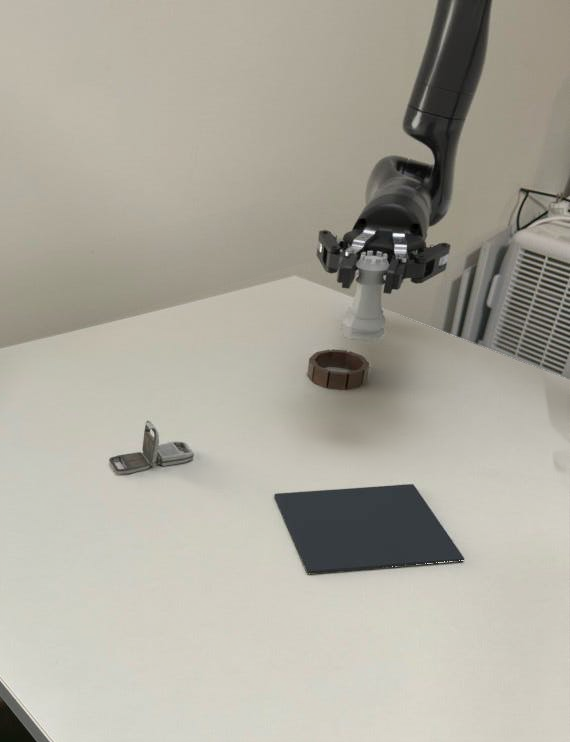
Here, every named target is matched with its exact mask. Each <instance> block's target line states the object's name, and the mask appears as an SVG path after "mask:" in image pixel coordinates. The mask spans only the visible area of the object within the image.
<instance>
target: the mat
mask: <svg viewBox="0 0 570 742" xmlns="http://www.w3.org/2000/svg"><path fill="white" fill-rule="evenodd" d="M273 497H274V500H275V502H276V504H277V507H278V509H279V511H280V514H281V516H282V518H283V520H284V522H285V525H286V528H287V531H288V532H289V535H290V537H291V536H292V537H291V539H292V541H293V544H294V543H295V544H294V546H295V548H296V550H298V551H297V553H298V555H299V557H300V560H301V559H302V560H301V562H302V565H303V567H304V566H305V567H304V569H305V568H306V569H305V571H306V570H307V571H306V574H307V573H310V574H309V575H312V574H311V573H320V574H324V573H323V572H326V573H325V574H328V573H327V572H332V573H339V572H338V571H344V572H354V571H355V570H357V571H366V569H367V570H368V569H369V570H379V569H378V568H381V569H386V568H385V567H392V566H393V567H394V568H396V567H395V566H405V565H406V567H408V566H407V565H416V564H425V563H426V564H427V563H436V562H437V563H438V562H444V561H445V562H447V561H448V562H449V561H459V560H460V561H461V560H464V561H465V557H464V556H463V554H462V552H461V551H460V550H459V548H458V547H457V546H456V544H455V542H454V541H453V539H452V538H451V537H450V536H449V534H448V532H447V531H446V529H445V528H444V526H443V525H442V523H441V522H440V521H439V519H438V517H437V516H436V515H435V513H434V512H433V511H432V509H431V508H430V506H429V505H428V503H427V502H426V501H425V499H424V497H423V496H422V494H421V493H420V492H419V490H418V489H417V487H416V485H415V484H414V483H409V484H408V483H407V484H394V485H379V486H377V485H376V486H365V487H363V486H362V487H350V488H338V489H321V490H308V491H293V492H278V493H274V496H273ZM383 567H384V568H383ZM375 568H377V569H375ZM362 569H363V570H362ZM352 570H353V571H352ZM355 572H356V571H355Z"/></svg>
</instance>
